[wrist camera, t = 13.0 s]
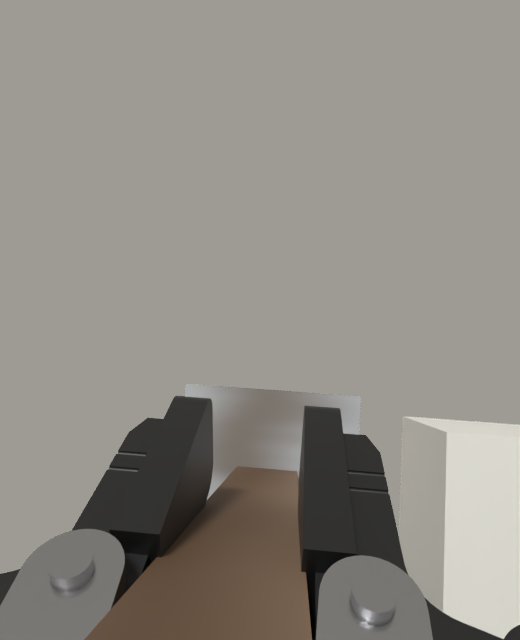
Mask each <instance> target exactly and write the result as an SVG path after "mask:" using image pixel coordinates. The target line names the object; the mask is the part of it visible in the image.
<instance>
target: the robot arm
mask: <svg viewBox="0 0 520 640" xmlns="http://www.w3.org/2000/svg"><path fill="white" fill-rule="evenodd" d="M212 472H213V407H212V400H211V399H210V398H198V397H185V396H175V397H174V399H173V401H172V403H171V405H170V407H169V409H168V411H167V413H166V415H165V417H164V419H154V418H147V419H146V420H145V421H143V422H142V423H141V424H139V425H138V426H137V427H135V428H134V429H133V430H132V431H130V432H129V434H128V435H127V437H126V438H125V440H124V442H123V444H122V445H121V447H120V449H119V451H118V454H116V456H115V457H114V459H113V461H112V462H111V464H110V467H109V470H107V471H106V473H105V474H104V476H103V478H102V480H101V481H100V483H99V485H98V487H97V488H96V490H95V492H94V493H93V495H92V497H91V498H90V500H89V502H88V504H87V505H86V507H85V509H84V511H83V512H82V514H81V516H80V517H79V519H78V521H77V522H76V524H75V526H74V528H73V530H72V531H69V532H66V533H63V534H61V535H58V536H56V537H54V538H52V539H50V540H49V541H47V542H46V543H44V544H43V545H41V546H40V547H39V548H37V549H36V550H35V551H34V552H33V553H32V554H31V555H30V556H29V557H28V559H27V560H26V561H25V563H24V564H23V566H22V567H21V569H19V570H16V571H12V572H7V573H3V574H0V640H84V639H85V638H86V637H87V636H88V635H89V634H90V632H91V631H92V630H93V629H94V628H95V627H96V626H97V624H98V623H99V622H100V621H101V620H102V619H103V618H104V617H105V615H106V614H107V613H108V612H109V611H110V610H111V609H112V607H113V606H114V605H115V604H116V603H117V602H118V601H119V599H120V598H121V597H122V596H123V595H124V594H125V593H126V592H127V590H128V589H129V588H130V587H131V586H132V585H133V584H134V582H135V581H136V580H137V579H138V578H139V577H140V576H141V575H142V573H143V572H144V571H145V570H146V569H147V568H148V567H149V565H150V564H151V563H152V562H153V561H154V560H155V559H156V557H162V556H163V555H164V554H165V553H166V551H167V550H168V549H169V548H170V547H171V546H172V544H173V543H174V542H175V541H176V540H177V538H178V537H179V536H180V535H181V534H182V533H183V531H184V530H185V529H186V528H187V527H188V526H189V524H190V523H191V522H192V521H193V520H194V518H195V517H196V516H197V515H198V514H199V513H200V511H201V510H202V509H203V508H204V507H205V505H206V501H207V497H208V494H209V490H210V485H211V479H212ZM298 527H299V543H300V559H301V572H306V579H307V590H308V601H309V612H310V623H311V634H312V640H520V625H518V626H516V627H514V628H513V629H511V630H510V631H509V632H508V633H507V635H506V636H505V638H504V639H502V638H499V637H497V636H494V635H492V634H490V633H487V632H485V631H482V630H480V629H477V628H475V627H472V626H470V625H467V624H465V623H463V622H460V621H458V620H456V619H454V618H452V617H450V616H448V615H447V614H445V613H443V612H442V611H440V610H439V609H438V608H436V607H435V606H434V605H432V604H431V603H430V602H429V601H428V600H427V599H426V598H425V597H424V596H423V593H422V592H421V590H420V589H419V587H418V585H417V584H416V583H415V582H414V581H413V579H412V578H411V577H410V576H409V575H408V573H407V570H406V567H405V564H404V559H403V555H402V550H401V546H400V541H399V537H398V532H397V528H396V523H395V519H394V514H393V509H392V505H391V500H390V496H389V495H388V487H387V482H386V478H385V477H384V468H383V464H382V459H381V455H380V452H379V451H378V450H377V449H376V447H375V446H374V445H373V444H372V442H371V441H370V440H369V439H368V437H367V436H366V435H357V434H344V433H343V427H342V419H341V410H340V408H331V407H318V406H304V416H303V429H302V443H301V457H300V471H299V489H298Z"/></svg>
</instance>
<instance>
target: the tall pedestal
mask: <svg viewBox="0 0 520 640" xmlns="http://www.w3.org/2000/svg"><path fill="white" fill-rule="evenodd" d="M401 454H402V455H401V483H400V516H399V541H400V546H401V550H402V555H403V559H404V564H405V567H406V570H407V573H408V575H409V576H410V577H411V578H412V579H413V581H414V582H415V583H416V584H417V585H418V587H419V589H420V590H421V592H422V593H423V596H424V597H425V598H426V599H427V600H428V601H429V602H430V603H431V604H432V605H434V606H435V607H436V608H438V609H439V610H440V611H442V612H443V613H445V614H447V615H448V616H450V617H452V618H454V619H456V620H458V621H460V622H463V623H465V624H467V625H470V626H472V627H475V628H477V629H480V630H482V631H485V632H487V633H490V634H492V635H494V636H497V637H499V638H502V639H504V638H505V636H506V635H507V633H508V632H509V631H510V630H511V629H513V628H514V627H516V626H518V625H520V425H515V424H501V423H487V422H473V421H459V420H447V419H433V418H419V417H405V416H403V421H402V452H401Z"/></svg>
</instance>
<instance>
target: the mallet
mask: <svg viewBox="0 0 520 640" xmlns="http://www.w3.org/2000/svg"><path fill="white" fill-rule="evenodd" d="M185 397H198V398H210V399H211V400H212V407H213V472H212V479H211V485H210V490H209V494H208V497H207V501H206V505H205V507H204V508H203V509H202V510H201V511H200V513H199V514H198V515H197V516H196V517H195V518H194V520H193V521H192V522H191V523H190V524H189V526H188V527H187V528H186V529H185V530H184V531H183V533H182V534H181V535H180V536H179V537H178V538H177V540H176V541H175V542H174V543H173V544H172V546H171V547H170V548H169V549H168V550H167V551H166V553H165V554H164V555H163V556H162V557H156V559H155V560H154V561H153V562H152V563H151V564H150V565H149V567H148V568H147V569H146V570H145V571H144V572H143V573H142V575H141V576H140V577H139V578H138V579H137V580H136V581H135V582H134V584H133V585H132V586H131V587H130V588H129V589H128V590H127V592H126V593H125V594H124V595H123V596H122V597H121V598H120V599H119V601H118V602H117V603H116V604H115V605H114V606H113V607H112V609H111V610H110V611H109V612H108V613H107V614H106V615H105V617H104V618H103V619H102V620H101V621H100V622H99V623H98V624H97V626H96V627H95V628H94V629H93V630H92V631H91V632H90V634H89V635H88V636H87V637H86V638H85V639H84V640H312V634H311V623H310V612H309V601H308V590H307V579H306V572H301V559H300V543H299V527H298V489H299V471H300V457H301V443H302V429H303V416H304V406H318V407H331V408H340V410H341V419H342V427H343V433H344V434H357V435H359V424H360V423H359V422H360V396H348V395H347V396H346V395H334V394H320V393H306V392H292V391H278V390H264V389H250V388H237V387H222V386H209V385H195V384H186V390H185Z"/></svg>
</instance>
